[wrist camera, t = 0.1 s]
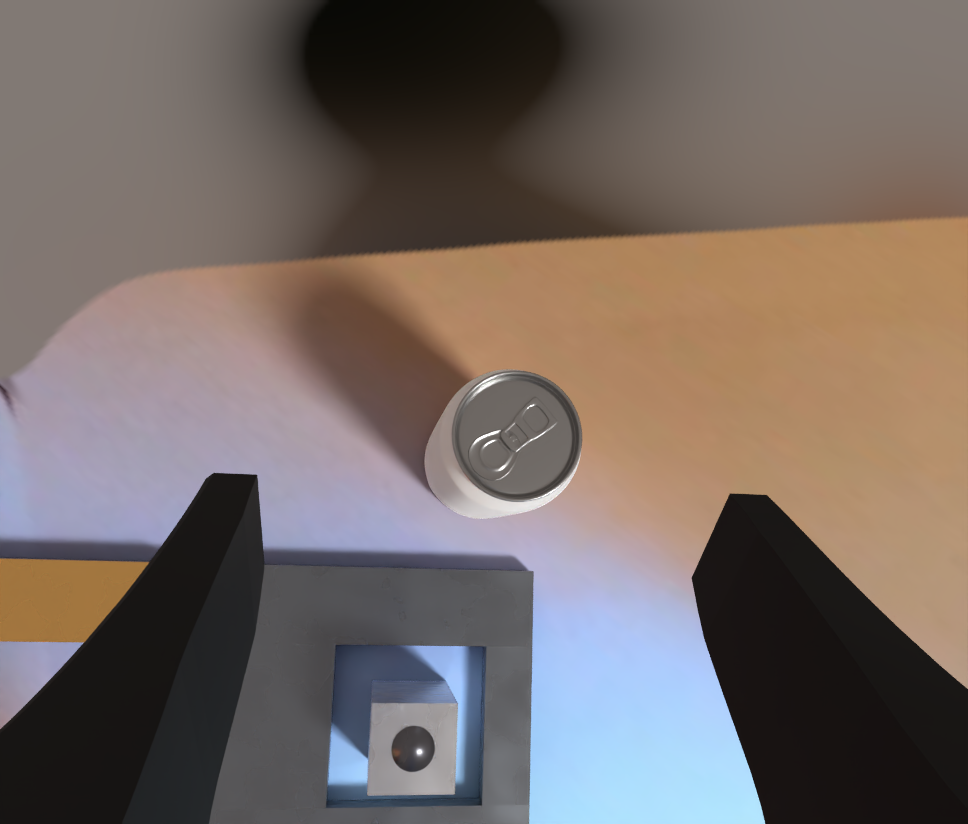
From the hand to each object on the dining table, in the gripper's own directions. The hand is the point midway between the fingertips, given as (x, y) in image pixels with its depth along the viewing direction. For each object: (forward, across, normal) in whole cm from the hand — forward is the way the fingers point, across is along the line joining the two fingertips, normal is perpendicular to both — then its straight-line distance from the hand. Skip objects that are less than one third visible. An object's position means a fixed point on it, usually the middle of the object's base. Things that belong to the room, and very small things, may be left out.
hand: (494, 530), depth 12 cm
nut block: (+14, 0, +30) cm, 33 cm away
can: (+24, -4, +21) cm, 33 cm away
